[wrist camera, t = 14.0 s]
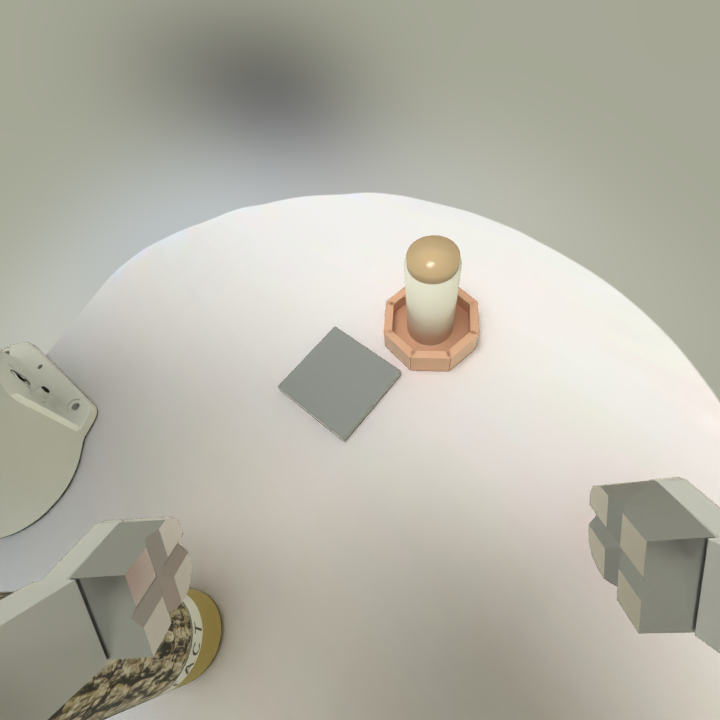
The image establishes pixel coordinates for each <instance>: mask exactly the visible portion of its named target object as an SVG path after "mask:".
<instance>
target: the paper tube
mask: <svg viewBox="0 0 720 720" xmlns="http://www.w3.org/2000/svg"><path fill="white" fill-rule="evenodd" d="M12 593H14V592H0V600H2V599H3V598H5V597H7V596H9V595H10V594H12ZM169 616H170V620H171V625H170V627H169V629H168V631H167V632H166V634H165V636H164V638H163V640H162V642H161V644H160V646H159V647H158V649H157V651H156V653H155V655H154V657H142V658H130V659H118V660H108V664H107V665H105V666H104V667H103V668H102V669H101V670H100V671H99V672H98V673H97V674H96V675H95V676H94V677H93V678H92V679H91V680H89V681H88V682H87V683H86V684H85V685H84V686H83V687H82V688H81V689H80V690H79V691H78V692H77V693H76V694H75V695H74V696H72V697H71V698H70V699H69V700H68V701H67V702H66V703H65V704H64V705H63V706H62V707H61V708H60V709H59V710H58V711H56V712H55V713H54V714H53V715H52V716H51V717H50V718H49V719H48V720H104V719H107V718H109V717H111V716H114V715H116V714H118V713H120V712H123V711H125V710H127V709H130V708H132V707H134V706H137V705H139V704H141V703H144V702H146V701H148V700H150V699H153V698H155V697H157V696H160V695H162V694H164V693H167V692H169V691H170V690H173V689H175V688H177V687H180V686H182V685H184V684H187V683H189V682H191V681H192V680H194V679H196V678H197V677H198V676H199V675H200V674H202V673H203V672H204V671H205V670H206V668H207V667H208V666H209V665H210V663H211V661H212V660H213V658H214V656H215V654H216V652H217V649H218V646H219V643H220V638H221V619H220V614H219V611H218V609H217V607H216V605H215V603H214V602H213V600H212V599H211V598H210V597H209V596H208V595H206V594H205V593H203V592H201V591H199V590H196V589H189V590H188V592H187V594H186V596H185V598H184V600H183V602H182V603H181V604H180V605H179V606H178V607H176V608H175V609H174V610H173V611H172V612H170V613H169Z"/></svg>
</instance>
